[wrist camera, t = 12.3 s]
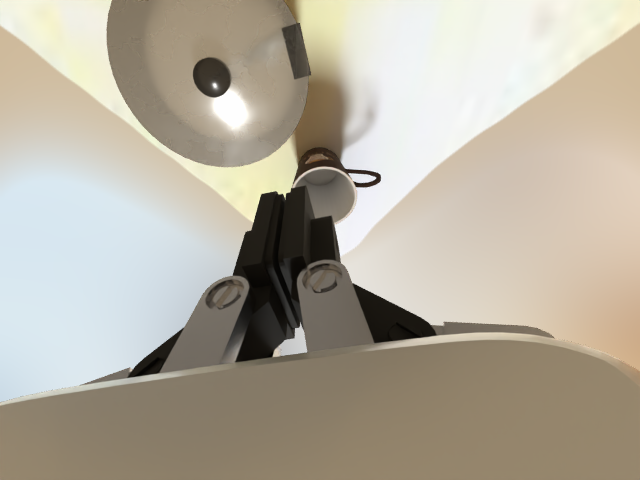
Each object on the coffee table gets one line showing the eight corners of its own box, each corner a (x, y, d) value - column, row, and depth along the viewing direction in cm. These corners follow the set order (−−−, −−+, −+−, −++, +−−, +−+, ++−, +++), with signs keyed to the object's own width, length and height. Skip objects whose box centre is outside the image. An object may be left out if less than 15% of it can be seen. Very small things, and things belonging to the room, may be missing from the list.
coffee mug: (286, 186, 48) (283, 219, 40) (298, 133, 43) (298, 159, 35) (354, 201, 50) (365, 235, 42) (373, 152, 45) (389, 181, 37)
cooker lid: (275, -81, 22) (274, -94, 20) (324, 139, 32) (328, 147, 30) (66, -16, 23) (43, -21, 21) (177, 179, 33) (169, 190, 31)
